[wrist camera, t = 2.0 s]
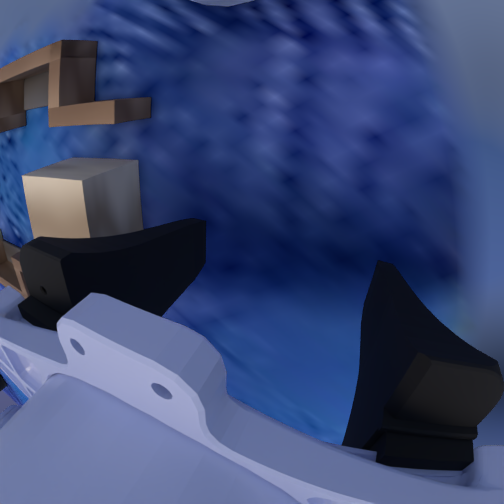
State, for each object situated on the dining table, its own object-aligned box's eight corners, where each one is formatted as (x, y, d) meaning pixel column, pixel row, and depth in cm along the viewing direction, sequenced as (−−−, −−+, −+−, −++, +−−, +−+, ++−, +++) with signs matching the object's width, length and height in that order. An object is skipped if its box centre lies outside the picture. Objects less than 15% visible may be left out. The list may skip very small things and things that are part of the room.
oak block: (147, 255, 17) (101, 292, 14) (85, 238, 18) (41, 265, 15) (140, 159, 14) (81, 180, 11) (73, 156, 16) (22, 175, 13)
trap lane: (165, 345, 20) (146, 369, 18) (-7, 256, 27) (-22, 265, 25) (156, 28, 11) (119, 20, 9) (-31, 94, 17) (-50, 99, 15)
